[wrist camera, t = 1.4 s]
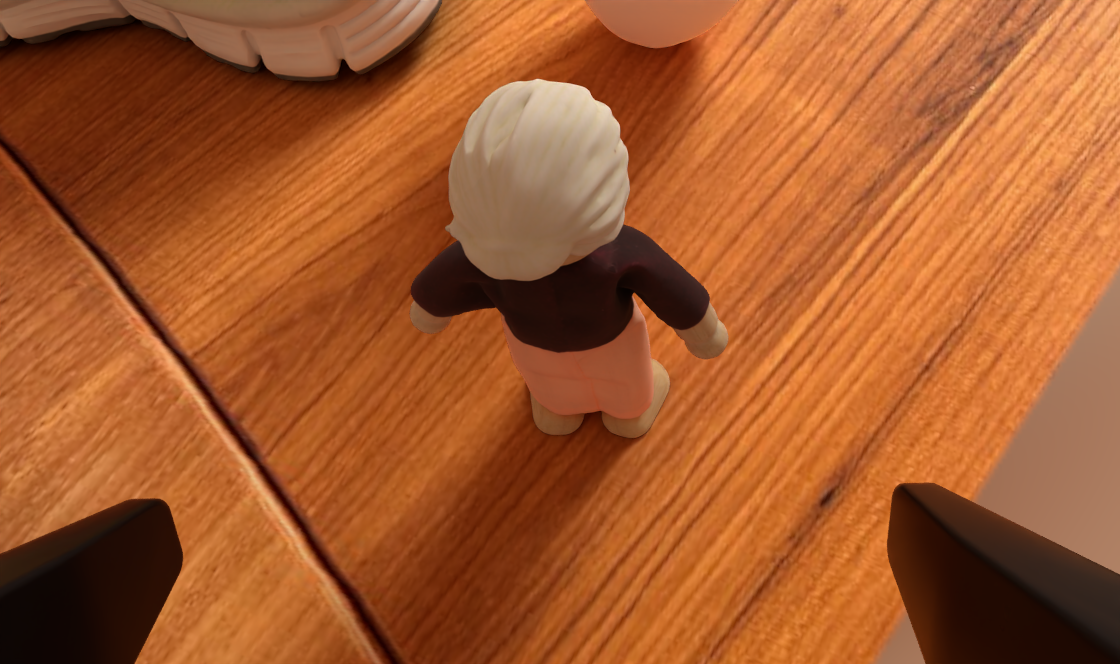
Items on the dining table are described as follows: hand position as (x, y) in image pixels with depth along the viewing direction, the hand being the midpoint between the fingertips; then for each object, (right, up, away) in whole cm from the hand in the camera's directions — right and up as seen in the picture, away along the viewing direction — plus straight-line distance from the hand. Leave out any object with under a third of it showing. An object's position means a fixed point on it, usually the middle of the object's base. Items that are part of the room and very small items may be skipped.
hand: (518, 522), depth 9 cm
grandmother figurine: (+1, 0, +14) cm, 14 cm away
